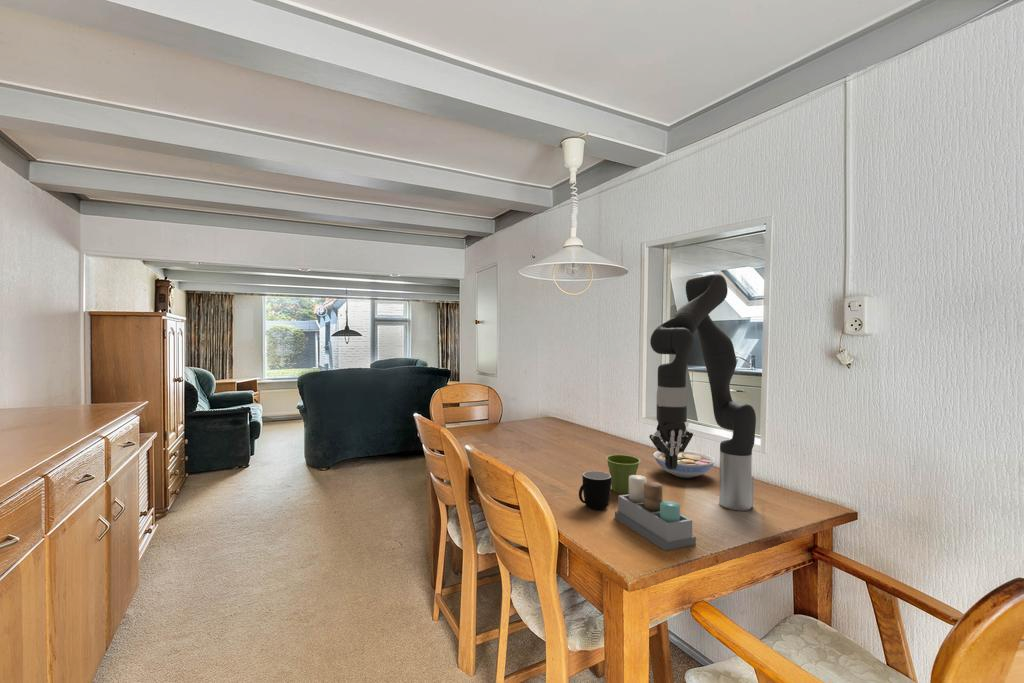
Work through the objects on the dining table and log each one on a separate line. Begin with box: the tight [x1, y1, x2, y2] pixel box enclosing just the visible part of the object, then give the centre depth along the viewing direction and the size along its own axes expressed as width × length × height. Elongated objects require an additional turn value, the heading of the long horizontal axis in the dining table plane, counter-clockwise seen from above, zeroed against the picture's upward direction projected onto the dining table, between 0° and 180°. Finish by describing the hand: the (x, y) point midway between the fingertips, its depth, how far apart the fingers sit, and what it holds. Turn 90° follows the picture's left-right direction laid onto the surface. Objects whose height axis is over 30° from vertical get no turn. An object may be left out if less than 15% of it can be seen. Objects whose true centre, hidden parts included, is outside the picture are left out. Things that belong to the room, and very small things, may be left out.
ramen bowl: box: [653, 449, 716, 479], centre depth 176 cm, size 25×23×8 cm
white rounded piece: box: [629, 474, 647, 503], centre depth 133 cm, size 5×5×6 cm
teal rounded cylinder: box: [660, 500, 681, 523], centre depth 119 cm, size 5×5×6 cm
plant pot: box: [605, 454, 641, 495], centre depth 158 cm, size 12×12×11 cm
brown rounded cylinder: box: [644, 481, 664, 512], centre depth 126 cm, size 5×5×6 cm
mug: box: [578, 470, 612, 511], centre depth 142 cm, size 12×9×10 cm
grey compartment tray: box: [614, 493, 697, 552], centre depth 126 cm, size 10×22×6 cm, turn 21°
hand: (671, 468), depth 119 cm, fingers closed
